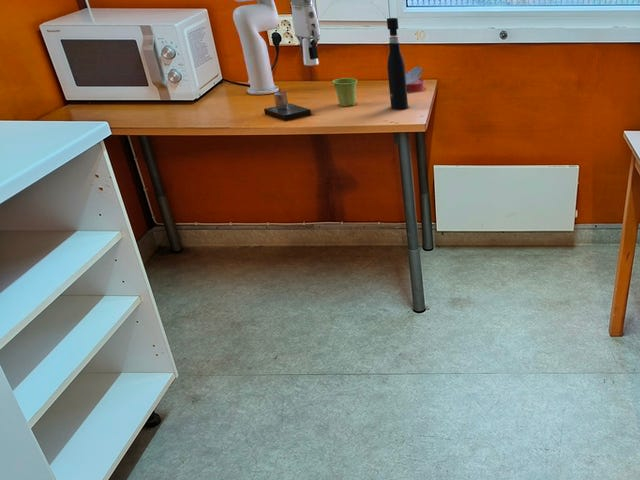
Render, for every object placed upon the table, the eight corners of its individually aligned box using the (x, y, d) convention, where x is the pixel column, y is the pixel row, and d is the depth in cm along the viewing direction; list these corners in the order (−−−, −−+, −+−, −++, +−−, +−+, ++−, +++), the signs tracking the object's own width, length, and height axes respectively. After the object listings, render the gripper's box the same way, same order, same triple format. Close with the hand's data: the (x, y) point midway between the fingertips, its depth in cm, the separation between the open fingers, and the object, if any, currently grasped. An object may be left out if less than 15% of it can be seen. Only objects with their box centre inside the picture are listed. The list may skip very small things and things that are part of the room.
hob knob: (280, 109, 233) (277, 94, 230) (274, 107, 236) (271, 92, 232) (290, 107, 235) (288, 92, 232) (284, 105, 238) (281, 90, 235)
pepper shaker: (311, 66, 232) (306, 32, 226) (300, 64, 234) (295, 31, 228) (322, 63, 236) (317, 30, 229) (311, 62, 238) (306, 29, 232)
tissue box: (423, 102, 265) (423, 82, 256) (399, 99, 265) (398, 79, 256) (425, 83, 270) (425, 63, 261) (402, 81, 270) (401, 60, 261)
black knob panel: (264, 114, 236) (263, 108, 235) (290, 108, 242) (289, 102, 241) (285, 121, 228) (284, 115, 227) (311, 115, 234) (310, 108, 233)
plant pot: (362, 101, 249) (360, 78, 244) (356, 107, 242) (353, 83, 237) (339, 101, 250) (336, 77, 245) (332, 107, 242) (329, 83, 237)
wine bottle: (410, 106, 242) (404, 17, 225) (403, 110, 237) (396, 20, 220) (395, 105, 244) (387, 17, 227) (388, 109, 239) (379, 19, 222)
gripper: (324, 1, 221) (332, 59, 231) (297, -2, 230) (306, 54, 241) (306, 4, 216) (315, 62, 227) (279, 0, 226) (289, 57, 236)
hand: (310, 57), depth 234 cm, fingers closed on pepper shaker, 3 cm apart
